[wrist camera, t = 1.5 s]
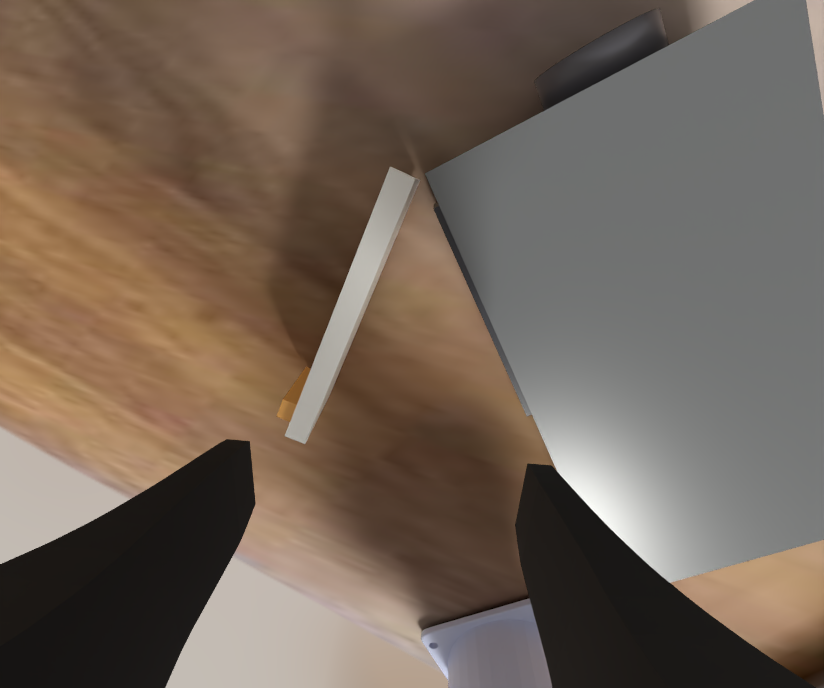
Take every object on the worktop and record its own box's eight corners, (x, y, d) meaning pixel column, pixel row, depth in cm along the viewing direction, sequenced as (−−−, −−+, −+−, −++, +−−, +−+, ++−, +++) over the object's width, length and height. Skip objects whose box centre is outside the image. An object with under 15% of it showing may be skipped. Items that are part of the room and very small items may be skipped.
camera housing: (789, 449, 20) (886, 522, 15) (575, 519, 22) (608, 599, 17) (687, 4, 14) (794, -73, 10) (411, 153, 16) (402, 142, 12)
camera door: (330, 394, 19) (305, 444, 16) (301, 382, 19) (269, 430, 16) (420, 180, 16) (415, 178, 12) (386, 164, 16) (371, 157, 12)
